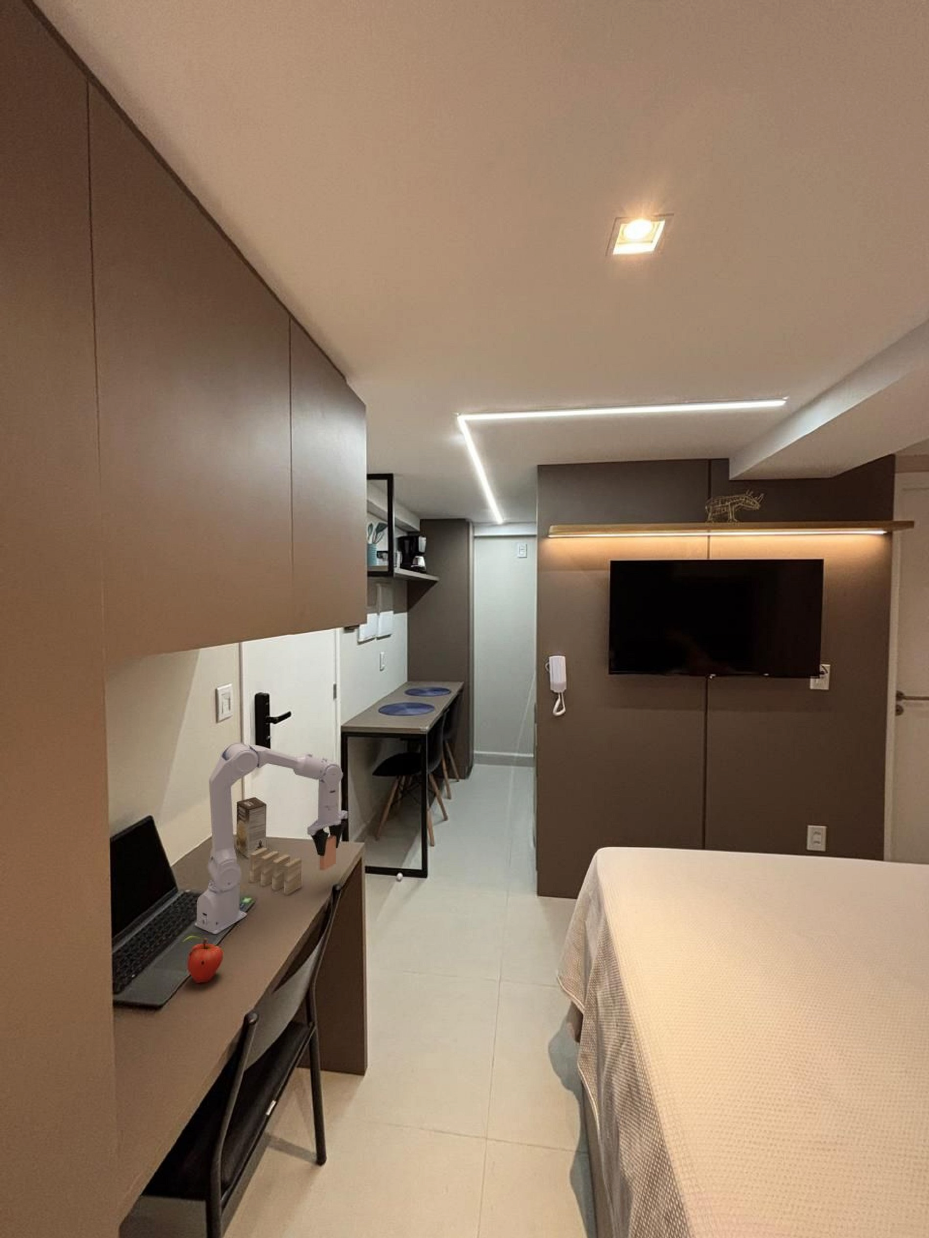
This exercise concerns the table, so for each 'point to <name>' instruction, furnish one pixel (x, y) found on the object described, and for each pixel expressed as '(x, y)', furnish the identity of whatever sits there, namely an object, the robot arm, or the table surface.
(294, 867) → the cream domino
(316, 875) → the table surface
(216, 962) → the apple
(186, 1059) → the table surface
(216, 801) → the robot arm
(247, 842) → the coffee box
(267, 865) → the cream domino
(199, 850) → the table surface
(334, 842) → the terracotta domino
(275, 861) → the cream domino
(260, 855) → the cream domino
